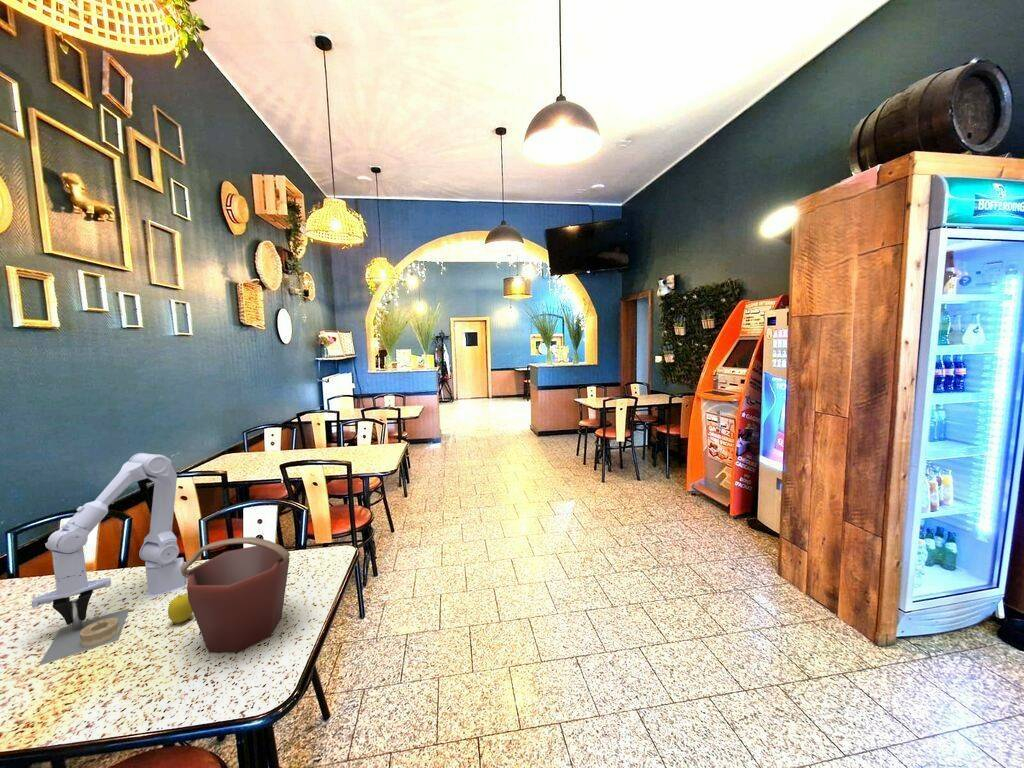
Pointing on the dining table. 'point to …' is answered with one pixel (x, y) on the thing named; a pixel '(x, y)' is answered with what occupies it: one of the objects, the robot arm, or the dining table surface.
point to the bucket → (238, 593)
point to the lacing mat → (78, 638)
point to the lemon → (179, 609)
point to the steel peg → (75, 615)
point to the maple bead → (99, 632)
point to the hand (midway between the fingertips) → (76, 620)
